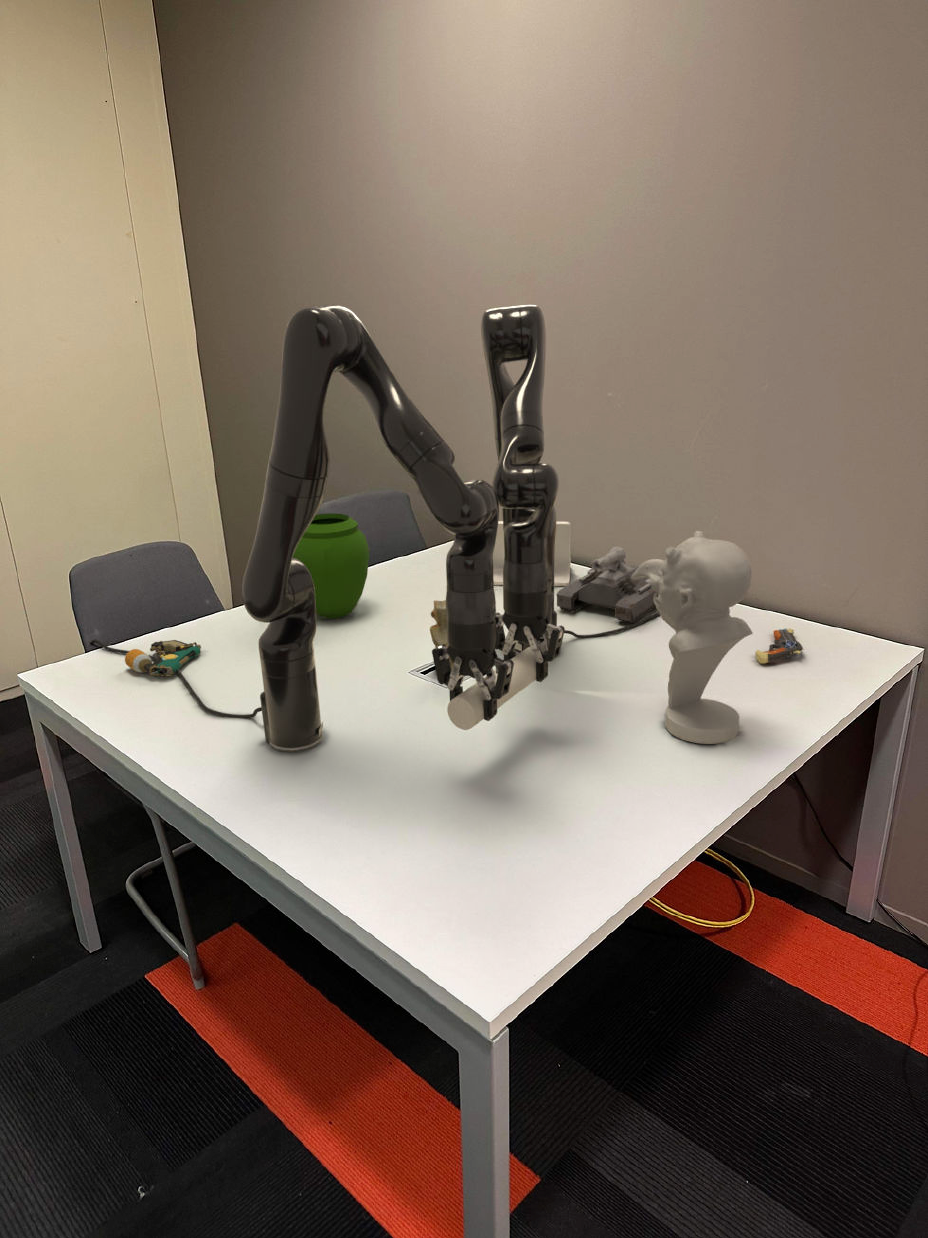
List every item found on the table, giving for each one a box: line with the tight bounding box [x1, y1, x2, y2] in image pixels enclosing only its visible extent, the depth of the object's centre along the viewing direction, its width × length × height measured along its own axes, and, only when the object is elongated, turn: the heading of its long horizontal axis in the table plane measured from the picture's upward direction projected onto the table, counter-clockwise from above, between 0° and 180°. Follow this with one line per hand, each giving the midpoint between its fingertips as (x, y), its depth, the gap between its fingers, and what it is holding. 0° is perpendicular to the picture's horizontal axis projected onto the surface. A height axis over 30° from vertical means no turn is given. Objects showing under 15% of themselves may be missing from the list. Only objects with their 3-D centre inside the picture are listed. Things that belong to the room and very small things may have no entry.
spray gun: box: [124, 639, 202, 677], centre depth 186 cm, size 4×17×15 cm
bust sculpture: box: [631, 530, 754, 745], centre depth 151 cm, size 16×24×35 cm, turn 28°
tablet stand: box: [493, 520, 572, 587], centre depth 236 cm, size 18×25×17 cm
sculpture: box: [429, 599, 454, 670], centre depth 177 cm, size 6×7×15 cm
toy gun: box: [754, 628, 805, 664], centre depth 185 cm, size 3×19×10 cm
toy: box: [556, 546, 656, 624], centre depth 212 cm, size 25×20×15 cm
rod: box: [446, 647, 550, 731], centre depth 141 cm, size 24×5×5 cm, turn 146°
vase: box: [293, 512, 370, 620], centre depth 209 cm, size 20×20×24 cm
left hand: (473, 713), depth 135 cm, fingers closed on rod, 5 cm apart
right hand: (525, 676), depth 148 cm, fingers closed on rod, 5 cm apart
